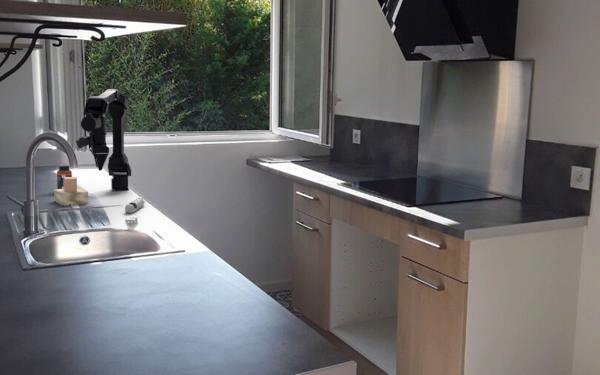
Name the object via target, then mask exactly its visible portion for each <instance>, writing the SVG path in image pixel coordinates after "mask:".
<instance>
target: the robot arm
mask: <svg viewBox="0 0 600 375" xmlns="http://www.w3.org/2000/svg"><path fill="white" fill-rule="evenodd" d="M129 106H130V105H129V101H128V99H127V97H126V96H125V95H124V94H122V93H121V92H120V90H118V89H113V88H112V89H110V88H109V89H106V90H104V92H102V93H101V94H100V95H97V96H88V98H87V99H86V102H85V106H84V110H83V115H84V117H82V119H81V120H80V126H81V128H82V129H83V130H84V131H85V132H88V135H86V136H81V137H79V138H77V139H75V140H74V142H75V143H76V146H77V148H78V149H79V150H80V149H83V148H84V147H88V150H89V151H90V152H91V154H92V156H93V159H94V162H95V167H96V168H97V169H98V171H101V172H102V171H103V168H104V165H105V163H106V160H107V159H108V163H107V169H108V170H107V171H108V176H109V177H111V176H112V178H110V187H111V189H112V190H113V191H129V190H130V189H129V177H131V176H132V168H131V165H130V162H129V158H128V157H127V155H126V153H125V135H124V134H125V133H124V132H125V130H124V128H125V127H124V126H125V125H124V122H125V121H124V120H125V118H126V116H127V115H128V110H129ZM107 113H108V115H109V116H110V117H111V119H112V120H111V122H112V123H111V124H112V154H111V155H110V156H109V154H110V148H109V146H107V139H106V138H107V137H106V136H107V131H106V130H107V129H106V117H107V115H106V114H107ZM108 156H109V157H108Z"/></svg>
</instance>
